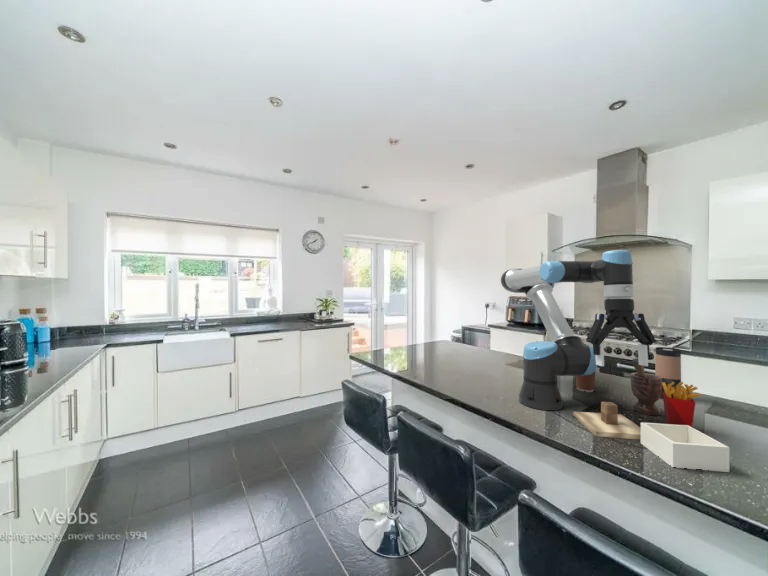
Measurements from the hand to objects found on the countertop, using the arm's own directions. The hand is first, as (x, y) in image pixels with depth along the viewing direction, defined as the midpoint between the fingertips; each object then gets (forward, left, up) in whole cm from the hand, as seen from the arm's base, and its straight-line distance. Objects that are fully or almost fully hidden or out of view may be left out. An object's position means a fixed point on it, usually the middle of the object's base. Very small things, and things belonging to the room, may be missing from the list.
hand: (621, 365), depth 96 cm
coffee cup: (+7, +39, -20) cm, 44 cm away
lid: (-3, +1, -21) cm, 21 cm away
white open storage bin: (+6, -15, -20) cm, 26 cm away
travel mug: (+35, +33, -20) cm, 52 cm away
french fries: (+19, +3, -20) cm, 28 cm away
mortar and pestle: (+16, +15, -20) cm, 30 cm away
